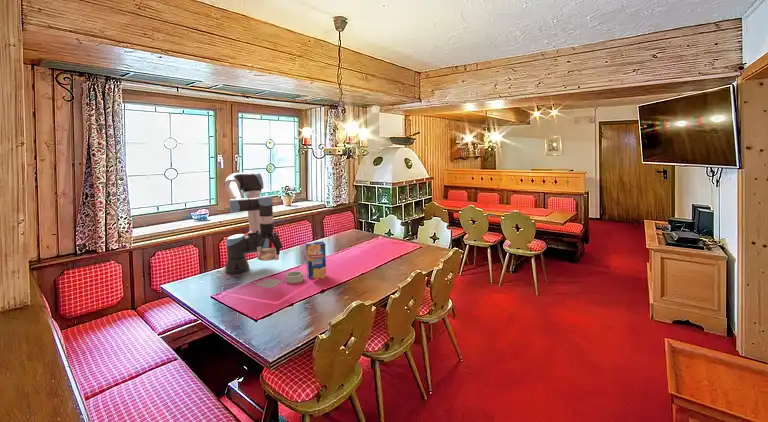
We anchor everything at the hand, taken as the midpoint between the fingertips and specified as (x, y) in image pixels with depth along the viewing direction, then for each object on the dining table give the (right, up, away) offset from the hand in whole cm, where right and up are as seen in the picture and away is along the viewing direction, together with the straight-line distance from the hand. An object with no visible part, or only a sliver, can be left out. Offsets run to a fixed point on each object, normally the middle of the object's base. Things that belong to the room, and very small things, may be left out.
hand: (268, 258), depth 230 cm
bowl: (+14, -15, +8) cm, 22 cm away
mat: (0, -16, +3) cm, 16 cm away
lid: (0, +1, 0) cm, 1 cm away
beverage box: (+26, -14, +16) cm, 33 cm away
